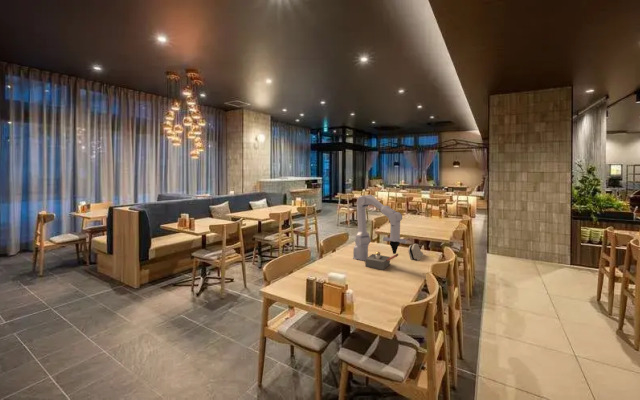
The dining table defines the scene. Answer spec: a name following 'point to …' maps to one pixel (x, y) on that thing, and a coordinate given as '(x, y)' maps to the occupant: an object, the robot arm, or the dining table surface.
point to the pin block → (377, 262)
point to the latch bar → (392, 257)
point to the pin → (377, 255)
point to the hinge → (415, 252)
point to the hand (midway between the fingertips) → (394, 253)
